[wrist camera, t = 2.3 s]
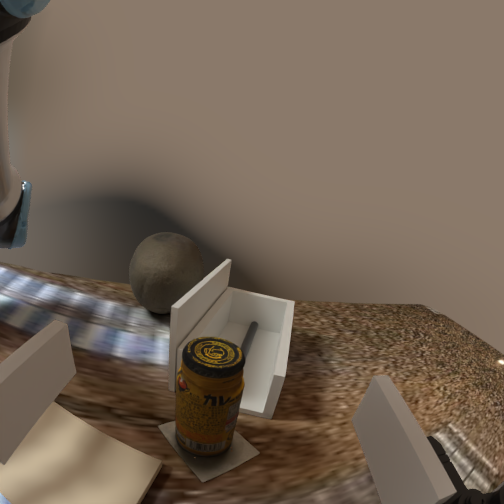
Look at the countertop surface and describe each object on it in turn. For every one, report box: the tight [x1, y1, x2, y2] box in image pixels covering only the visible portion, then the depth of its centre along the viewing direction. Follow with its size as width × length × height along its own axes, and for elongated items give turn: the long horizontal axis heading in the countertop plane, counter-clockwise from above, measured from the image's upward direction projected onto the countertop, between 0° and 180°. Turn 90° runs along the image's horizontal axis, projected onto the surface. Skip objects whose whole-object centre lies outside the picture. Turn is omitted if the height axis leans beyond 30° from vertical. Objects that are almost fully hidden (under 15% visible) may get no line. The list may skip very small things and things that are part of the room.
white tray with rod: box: [169, 259, 294, 419], centre depth 39 cm, size 13×22×12 cm, turn 169°
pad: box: [0, 401, 163, 504], centre depth 13 cm, size 14×14×1 cm
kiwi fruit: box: [129, 232, 204, 314], centre depth 48 cm, size 14×14×15 cm
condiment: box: [158, 337, 260, 482], centre depth 22 cm, size 7×8×12 cm
